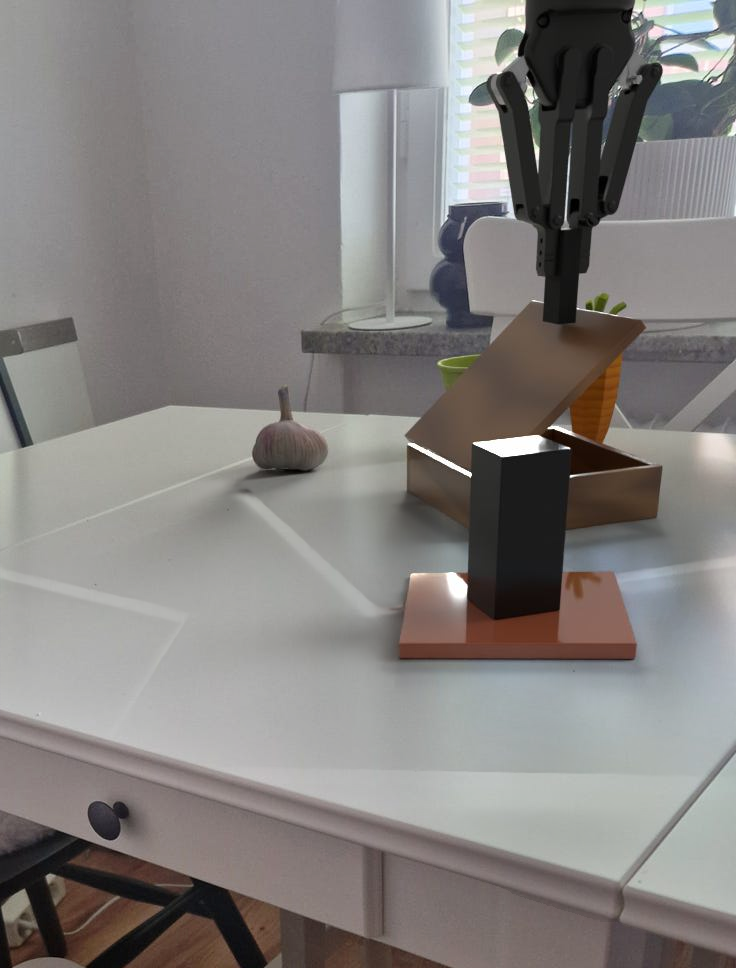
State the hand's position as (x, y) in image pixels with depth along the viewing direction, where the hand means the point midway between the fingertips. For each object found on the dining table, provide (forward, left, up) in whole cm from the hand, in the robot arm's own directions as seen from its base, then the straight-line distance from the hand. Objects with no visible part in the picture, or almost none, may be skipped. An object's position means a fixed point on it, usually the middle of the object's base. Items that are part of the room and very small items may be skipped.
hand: (558, 321), depth 92 cm
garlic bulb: (+25, -17, -15) cm, 33 cm away
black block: (+4, +28, -14) cm, 31 cm away
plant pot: (+6, -23, -15) cm, 28 cm away
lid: (+3, +1, -5) cm, 6 cm away
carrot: (-4, -16, -15) cm, 22 cm away
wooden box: (+2, +1, -15) cm, 15 cm away
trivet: (+4, +28, -15) cm, 32 cm away
